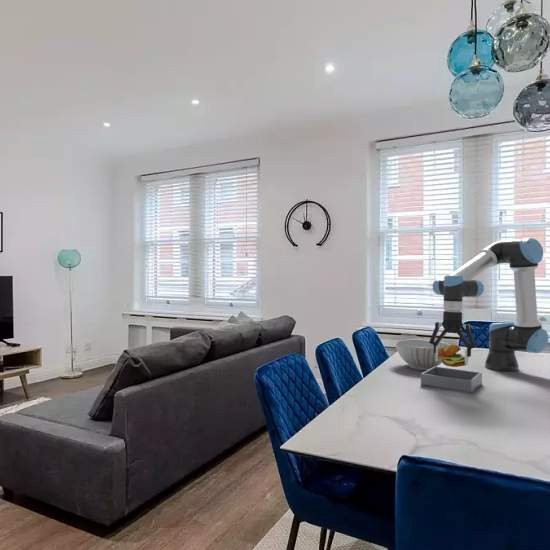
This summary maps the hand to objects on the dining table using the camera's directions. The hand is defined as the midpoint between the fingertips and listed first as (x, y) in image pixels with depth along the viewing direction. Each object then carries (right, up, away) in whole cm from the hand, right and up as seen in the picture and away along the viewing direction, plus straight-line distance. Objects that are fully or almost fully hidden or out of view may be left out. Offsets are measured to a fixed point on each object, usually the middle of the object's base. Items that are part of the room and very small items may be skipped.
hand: (451, 362), depth 188 cm
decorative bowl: (-1, -9, +34) cm, 36 cm away
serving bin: (0, -10, 0) cm, 10 cm away
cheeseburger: (0, -1, 0) cm, 1 cm away
